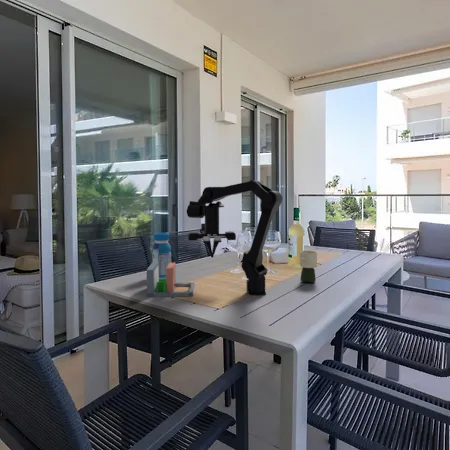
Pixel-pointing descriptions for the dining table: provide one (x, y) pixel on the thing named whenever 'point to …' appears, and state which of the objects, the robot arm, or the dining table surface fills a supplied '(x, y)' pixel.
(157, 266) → the vise body
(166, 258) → the beverage bottle
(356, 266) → the dining table surface
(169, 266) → the sliding jaw
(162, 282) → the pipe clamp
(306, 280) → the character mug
